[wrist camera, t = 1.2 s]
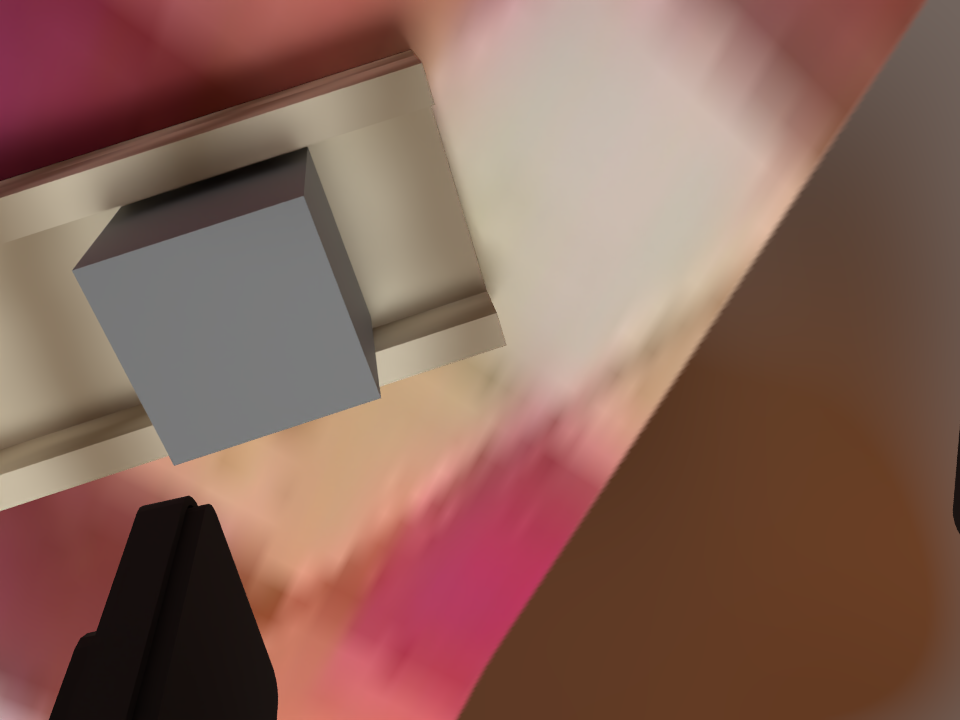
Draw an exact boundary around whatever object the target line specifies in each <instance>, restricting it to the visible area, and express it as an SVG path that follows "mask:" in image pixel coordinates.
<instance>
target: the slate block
mask: <svg viewBox="0 0 960 720" xmlns="http://www.w3.org/2000/svg"><path fill="white" fill-rule="evenodd" d="M72 272H73V274H74V276H75V278H76V280H77V281H78V283H79V285H80V287H81V289H82V291H83V293H84V295H85V297H86V299H87V300H88V302H89V304H90V306H91V308H92V310H93V312H94V314H95V316H96V318H97V320H98V321H99V323H100V325H101V327H102V329H103V331H104V333H105V335H106V337H107V339H108V341H109V342H110V344H111V346H112V348H113V350H114V352H115V354H116V356H117V358H118V360H119V362H120V363H121V365H122V367H123V369H124V371H125V373H126V375H127V377H128V379H129V381H130V382H131V384H132V386H133V388H134V390H135V392H136V394H137V396H138V398H139V400H140V402H141V403H142V405H143V407H144V409H145V411H146V413H147V415H148V417H149V419H150V421H151V423H152V424H153V426H154V428H155V430H156V432H157V434H158V436H159V438H160V440H161V442H162V443H163V445H164V447H165V449H166V451H167V453H168V455H169V457H170V459H171V461H172V463H173V464H174V466H175V465H178V464H181V463H184V462H187V461H190V460H193V459H196V458H199V457H202V456H205V455H208V454H211V453H214V452H218V451H221V450H224V449H227V448H230V447H233V446H236V445H239V444H242V443H245V442H248V441H251V440H254V439H257V438H260V437H263V436H266V435H269V434H272V433H276V432H279V431H282V430H285V429H288V428H291V427H294V426H297V425H300V424H303V423H306V422H309V421H312V420H315V419H318V418H321V417H324V416H327V415H330V414H334V413H337V412H340V411H343V410H346V409H349V408H352V407H355V406H358V405H361V404H364V403H367V402H370V401H373V400H376V399H379V398H381V395H380V387H379V378H378V370H377V362H376V354H375V346H374V338H373V330H372V321H371V316H370V313H369V311H368V308H367V305H366V303H365V300H364V297H363V294H362V292H361V289H360V286H359V284H358V281H357V278H356V276H355V273H354V270H353V267H352V265H351V262H350V259H349V257H348V254H347V251H346V249H345V246H344V243H343V240H342V238H341V235H340V232H339V230H338V227H337V224H336V222H335V219H334V216H333V213H332V211H331V208H330V205H329V203H328V200H327V197H326V195H325V192H324V189H323V187H322V184H321V181H320V178H319V176H318V173H317V170H316V168H315V165H314V162H313V160H312V157H311V154H310V151H309V149H308V147H305V148H302V149H299V150H296V151H293V152H290V153H287V154H284V155H281V156H277V157H274V158H271V159H268V160H265V161H262V162H259V163H256V164H253V165H249V166H246V167H243V168H240V169H237V170H234V171H231V172H228V173H225V174H221V175H218V176H215V177H212V178H209V179H206V180H203V181H200V182H197V183H193V184H190V185H187V186H184V187H181V188H178V189H175V190H172V191H169V192H165V193H162V194H159V195H156V196H153V197H150V198H147V199H144V200H141V201H137V202H134V203H131V204H128V205H125V206H122V207H121V208H120V209H119V210H118V211H117V213H116V214H115V215H114V217H113V218H112V219H111V221H110V222H109V223H108V224H107V226H106V227H105V228H104V230H103V231H102V232H101V233H100V235H99V236H98V237H97V239H96V240H95V241H94V243H93V244H92V245H91V246H90V248H89V249H88V250H87V252H86V253H85V254H84V255H83V257H82V258H81V259H80V261H79V262H78V263H77V265H76V266H75V267H74V268H73V270H72Z"/></svg>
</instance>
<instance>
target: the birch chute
mask: <svg viewBox="0 0 960 720" xmlns="http://www.w3.org/2000/svg"><path fill="white" fill-rule="evenodd" d="M432 105H435V104H434V101H433V98H432V94H431V91H430V88H429V84H428V81H427V78H426V74H425V71H424V68H423V64H422V62H421V61H420V60H419V58H418V57H417V56H416V55H415V54H414V52H413V51H412V50H409V51H406V52H403V53H399V54H396V55H393V56H390V57H387V58H384V59H381V60H378V61H374V62H371V63H368V64H365V65H362V66H359V67H356V68H353V69H349V70H346V71H343V72H340V73H337V74H334V75H331V76H328V77H324V78H321V79H318V80H315V81H312V82H309V83H306V84H303V85H299V86H296V87H293V88H290V89H287V90H284V91H281V92H278V93H274V94H271V95H268V96H265V97H262V98H259V99H256V100H253V101H249V102H246V103H243V104H240V105H237V106H234V107H231V108H228V109H224V110H221V111H218V112H215V113H212V114H209V115H206V116H203V117H199V118H196V119H193V120H190V121H187V122H184V123H181V124H178V125H174V126H171V127H168V128H165V129H162V130H159V131H156V132H153V133H149V134H146V135H143V136H140V137H137V138H134V139H131V140H128V141H124V142H121V143H118V144H115V145H112V146H109V147H106V148H103V149H99V150H96V151H93V152H90V153H87V154H84V155H81V156H78V157H74V158H71V159H68V160H65V161H62V162H59V163H56V164H53V165H49V166H46V167H43V168H40V169H37V170H34V171H31V172H28V173H24V174H21V175H18V176H15V177H12V178H9V179H6V180H3V181H0V511H2V510H5V509H8V508H11V507H14V506H17V505H20V504H23V503H26V502H29V501H32V500H35V499H38V498H41V497H44V496H47V495H50V494H53V493H57V492H60V491H63V490H66V489H69V488H72V487H75V486H78V485H81V484H84V483H87V482H90V481H93V480H96V479H99V478H102V477H105V476H108V475H112V474H115V473H118V472H121V471H124V470H127V469H130V468H133V467H136V466H139V465H142V464H145V463H148V462H151V461H154V460H157V459H160V458H163V457H166V456H169V455H168V453H167V451H166V449H165V447H164V445H163V443H162V442H161V440H160V438H159V436H158V434H157V432H156V430H155V428H154V426H153V424H152V423H151V421H150V419H149V417H148V415H147V413H146V411H145V409H144V407H143V405H142V403H141V402H140V400H139V398H138V396H137V394H136V392H135V390H134V388H133V386H132V384H131V382H130V381H129V379H128V377H127V375H126V373H125V371H124V369H123V367H122V365H121V363H120V362H119V360H118V358H117V356H116V354H115V352H114V350H113V348H112V346H111V344H110V342H109V341H108V339H107V337H106V335H105V333H104V331H103V329H102V327H101V325H100V323H99V321H98V320H97V318H96V316H95V314H94V312H93V310H92V308H91V306H90V304H89V302H88V300H87V299H86V297H85V295H84V293H83V291H82V289H81V287H80V285H79V283H78V281H77V280H76V278H75V276H74V274H73V272H72V270H73V268H74V267H75V266H76V265H77V263H78V262H79V261H80V259H81V258H82V257H83V255H84V254H85V253H86V252H87V250H88V249H89V248H90V246H91V245H92V244H93V243H94V241H95V240H96V239H97V237H98V236H99V235H100V233H101V232H102V231H103V230H104V228H105V227H106V226H107V224H108V223H109V222H110V221H111V219H112V218H113V217H114V215H115V214H116V213H117V211H118V210H119V209H120V208H121V207H122V206H125V205H128V204H131V203H134V202H137V201H141V200H144V199H147V198H150V197H153V196H156V195H159V194H162V193H165V192H169V191H172V190H175V189H178V188H181V187H184V186H187V185H190V184H193V183H197V182H200V181H203V180H206V179H209V178H212V177H215V176H218V175H221V174H225V173H228V172H231V171H234V170H237V169H240V168H243V167H246V166H249V165H253V164H256V163H259V162H262V161H265V160H268V159H271V158H274V157H277V156H281V155H284V154H287V153H290V152H293V151H296V150H299V149H302V148H305V147H308V149H309V151H310V154H311V157H312V160H313V162H314V165H315V168H316V170H317V173H318V176H319V178H320V181H321V184H322V187H323V189H324V192H325V195H326V197H327V200H328V203H329V205H330V208H331V211H332V213H333V216H334V219H335V222H336V224H337V227H338V230H339V232H340V235H341V238H342V240H343V243H344V246H345V249H346V251H347V254H348V257H349V259H350V262H351V265H352V267H353V270H354V273H355V276H356V278H357V281H358V284H359V286H360V289H361V292H362V294H363V297H364V300H365V303H366V305H367V308H368V311H369V313H370V316H371V321H372V330H373V338H374V346H375V354H376V362H377V370H378V378H379V387H380V386H383V385H386V384H389V383H393V382H396V381H399V380H402V379H405V378H408V377H411V376H414V375H417V374H420V373H423V372H426V371H429V370H432V369H435V368H438V367H441V366H444V365H448V364H451V363H454V362H457V361H460V360H463V359H466V358H469V357H472V356H475V355H478V354H481V353H484V352H487V351H490V350H493V349H496V348H499V347H503V346H506V342H505V338H504V335H503V332H502V328H501V325H500V322H499V318H498V315H497V312H496V310H495V308H494V306H493V303H492V301H491V299H490V297H489V295H488V293H487V290H486V287H485V284H484V280H483V277H482V274H481V270H480V267H479V264H478V260H477V257H476V254H475V250H474V247H473V244H472V240H471V237H470V234H469V230H468V227H467V224H466V220H465V217H464V214H463V211H462V207H461V204H460V201H459V197H458V194H457V191H456V187H455V184H454V181H453V177H452V174H451V171H450V167H449V164H448V161H447V157H446V154H445V151H444V147H443V144H442V141H441V137H440V134H439V131H438V127H437V124H436V121H435V118H434V114H433V111H432V108H431V106H432Z"/></svg>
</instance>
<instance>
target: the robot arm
mask: <svg viewBox="0 0 960 720" xmlns="http://www.w3.org/2000/svg"><path fill="white" fill-rule="evenodd" d="M953 517H954V521H955V525H956V527H957V530H958V531H959V533H960V433H959V444H958V455H957V467H956V479H955V491H954V504H953ZM277 709H278V689H277V682H276V677H275V673H274V670H273V667H272V664H271V661H270V659H269V656H268V653H267V650H266V648H265V645H264V642H263V639H262V637H261V634H260V631H259V629H258V626H257V623H256V620H255V618H254V615H253V612H252V609H251V607H250V604H249V601H248V599H247V596H246V593H245V590H244V588H243V585H242V582H241V580H240V577H239V574H238V571H237V569H236V566H235V563H234V560H233V558H232V555H231V552H230V550H229V547H228V544H227V541H226V539H225V536H224V533H223V530H222V528H221V525H220V522H219V520H218V517H217V514H216V512H215V510H214V508H213V507H212V505H210V504H206V505H201V506H198V505H197V503H196V502H195V500H194V499H193V498H192V497H190V496H185V497H181V498H176V499H172V500H167V501H163V502H158V503H154V504H149V505H145V506H142V507H140V508H139V510H138V512H137V514H136V517H135V520H134V523H133V526H132V529H131V532H130V535H129V538H128V541H127V543H126V546H125V549H124V552H123V555H122V558H121V561H120V564H119V567H118V570H117V573H116V576H115V578H114V581H113V584H112V587H111V590H110V593H109V596H108V599H107V602H106V605H105V608H104V611H103V613H102V616H101V619H100V622H99V625H98V628H97V631H95V632H91V633H87V634H86V635H84V636H83V637H82V638H80V640H79V642H78V644H77V646H76V648H75V650H74V652H73V655H72V658H71V661H70V663H69V666H68V669H67V672H66V674H65V677H64V680H63V683H62V685H61V688H60V691H59V694H58V696H57V699H56V702H55V704H54V707H53V710H52V713H51V715H50V718H49V720H277Z"/></svg>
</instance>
